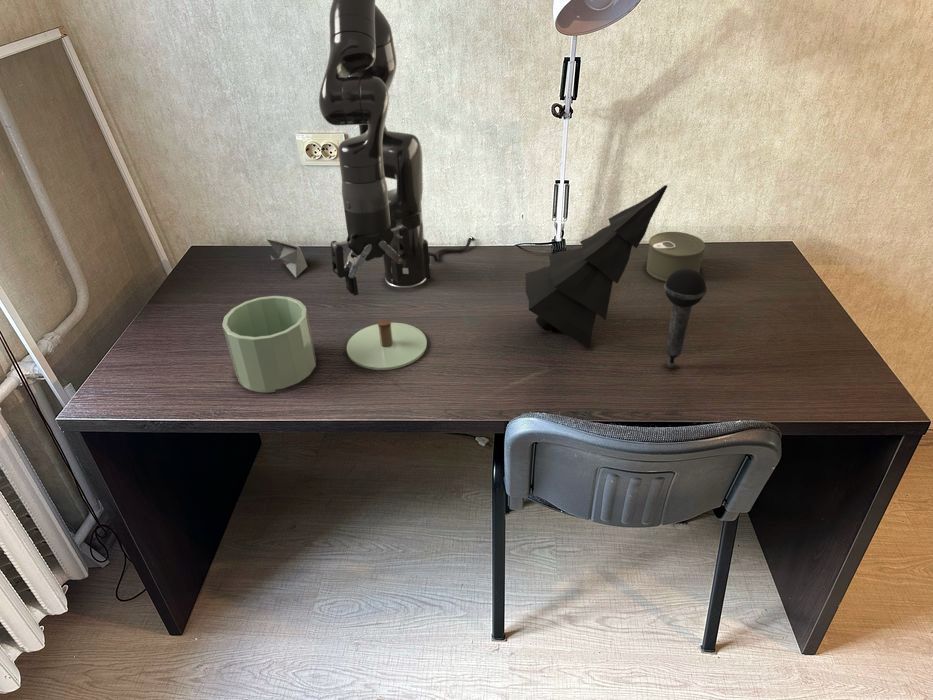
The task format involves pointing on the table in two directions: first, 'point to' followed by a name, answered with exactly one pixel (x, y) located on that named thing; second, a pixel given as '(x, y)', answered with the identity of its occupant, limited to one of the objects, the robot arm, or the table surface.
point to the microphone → (681, 306)
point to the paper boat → (289, 256)
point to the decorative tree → (587, 273)
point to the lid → (386, 345)
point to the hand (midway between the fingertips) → (375, 287)
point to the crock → (270, 343)
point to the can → (673, 253)
